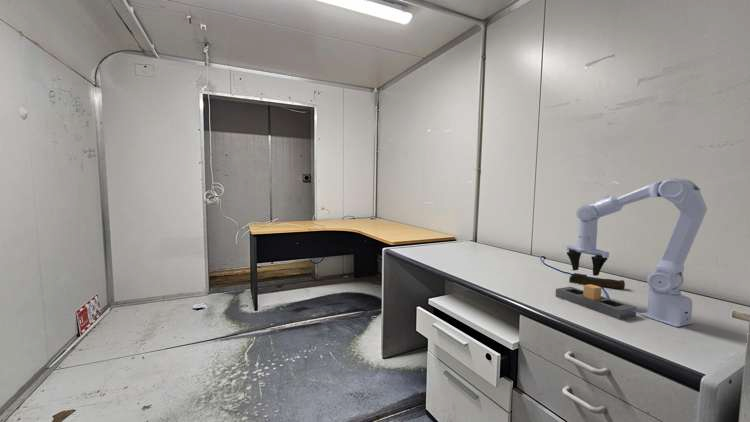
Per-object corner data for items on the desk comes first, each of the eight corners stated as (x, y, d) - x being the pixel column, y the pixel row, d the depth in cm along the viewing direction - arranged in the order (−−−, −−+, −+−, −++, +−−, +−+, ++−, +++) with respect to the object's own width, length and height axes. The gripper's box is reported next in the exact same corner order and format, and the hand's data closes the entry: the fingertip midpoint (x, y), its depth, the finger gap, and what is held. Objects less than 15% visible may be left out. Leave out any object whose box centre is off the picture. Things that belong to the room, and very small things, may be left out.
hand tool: (623, 288, 124) (624, 277, 124) (625, 291, 121) (625, 280, 121) (569, 281, 135) (569, 271, 134) (569, 283, 131) (569, 273, 131)
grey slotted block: (635, 316, 96) (636, 307, 96) (619, 319, 93) (620, 310, 93) (570, 294, 117) (570, 286, 117) (555, 296, 114) (555, 288, 114)
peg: (600, 306, 104) (601, 287, 103) (593, 308, 103) (594, 288, 102) (589, 303, 107) (590, 284, 107) (582, 304, 106) (583, 285, 106)
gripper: (561, 234, 118) (560, 268, 119) (600, 240, 104) (598, 278, 105) (574, 234, 120) (572, 267, 121) (613, 239, 107) (611, 276, 107)
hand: (585, 272), depth 113 cm, fingers open, 7 cm apart
